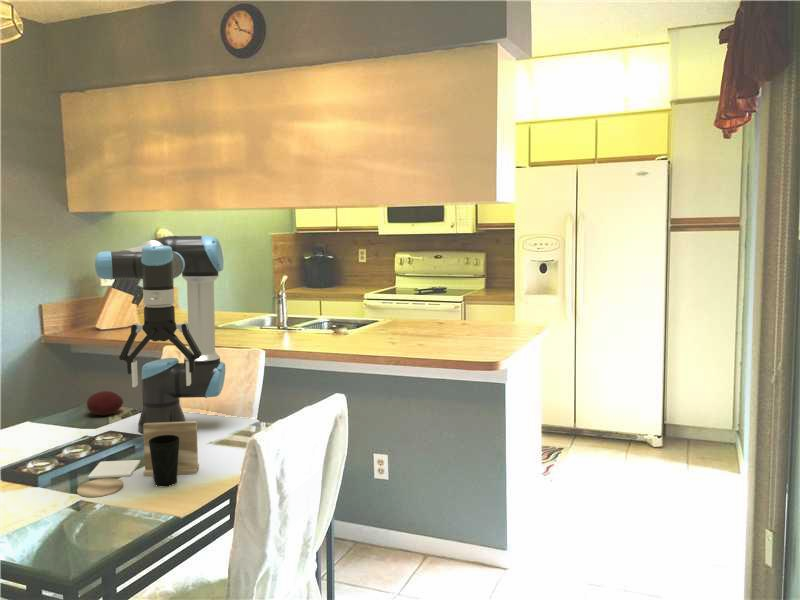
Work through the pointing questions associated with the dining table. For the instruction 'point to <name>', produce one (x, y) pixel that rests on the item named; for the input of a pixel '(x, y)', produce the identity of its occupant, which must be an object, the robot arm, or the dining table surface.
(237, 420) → the dining table surface
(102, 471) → the stone coaster
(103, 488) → the cork coaster
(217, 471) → the dining table surface
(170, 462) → the cup
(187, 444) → the screen
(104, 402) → the potato
